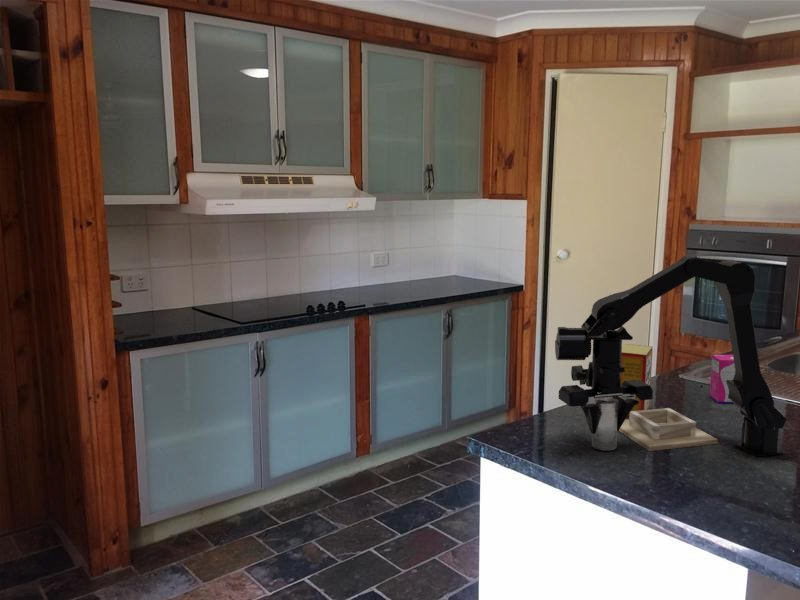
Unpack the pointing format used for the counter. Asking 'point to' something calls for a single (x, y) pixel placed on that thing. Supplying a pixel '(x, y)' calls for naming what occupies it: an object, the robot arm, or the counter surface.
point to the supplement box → (721, 377)
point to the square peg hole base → (664, 430)
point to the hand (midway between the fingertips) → (604, 432)
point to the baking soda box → (637, 369)
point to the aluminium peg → (606, 424)
